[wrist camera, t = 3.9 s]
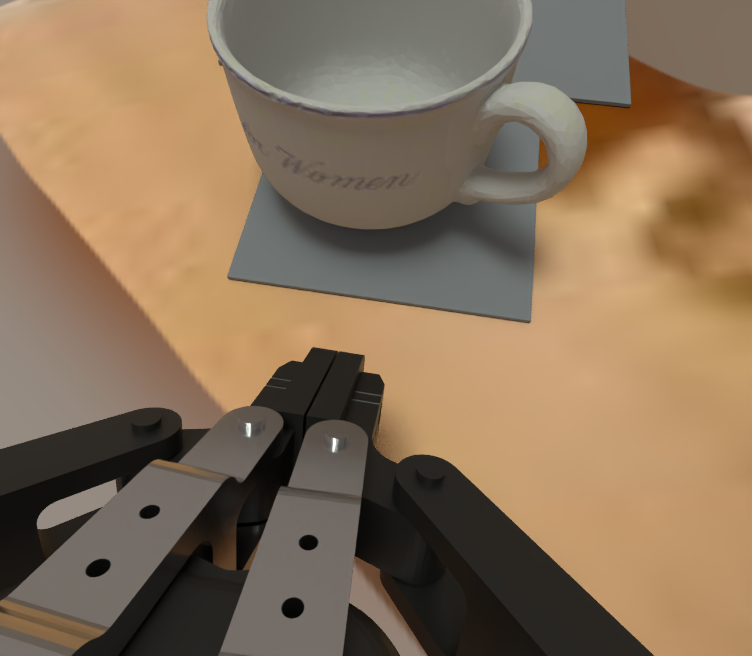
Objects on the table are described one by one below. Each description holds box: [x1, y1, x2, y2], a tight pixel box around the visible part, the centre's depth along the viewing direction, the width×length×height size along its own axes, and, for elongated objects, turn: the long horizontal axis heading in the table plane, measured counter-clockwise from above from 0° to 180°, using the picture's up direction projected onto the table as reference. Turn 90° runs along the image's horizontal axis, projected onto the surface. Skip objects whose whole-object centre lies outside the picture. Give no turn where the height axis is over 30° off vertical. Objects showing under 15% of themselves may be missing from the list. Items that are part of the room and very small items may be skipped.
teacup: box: [207, 0, 587, 229], centre depth 18 cm, size 14×11×8 cm
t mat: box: [218, 0, 631, 323], centre depth 25 cm, size 22×25×1 cm
